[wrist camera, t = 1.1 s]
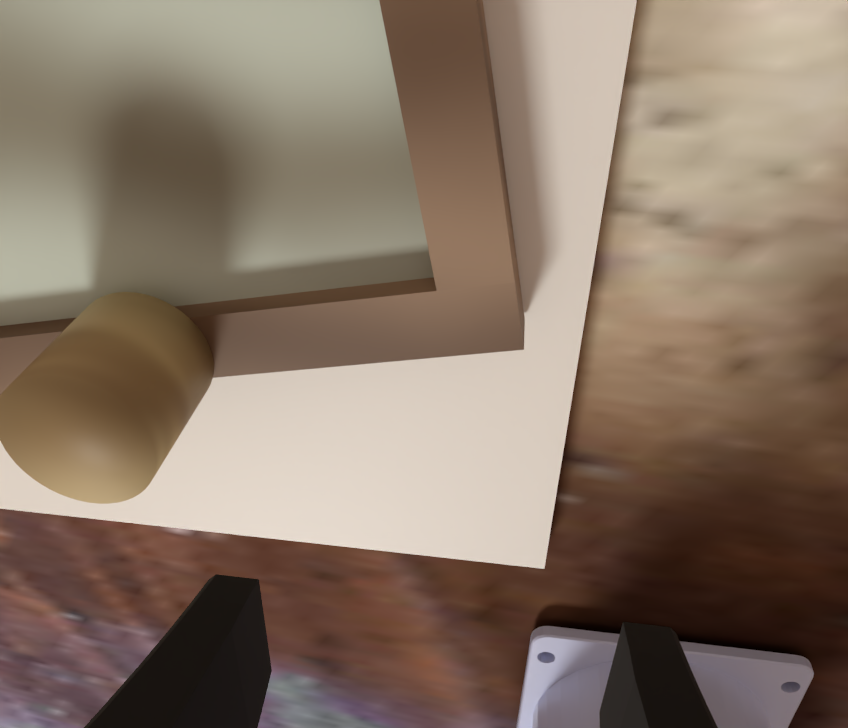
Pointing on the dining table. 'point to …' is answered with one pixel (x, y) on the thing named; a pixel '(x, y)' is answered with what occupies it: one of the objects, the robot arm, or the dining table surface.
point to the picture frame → (234, 211)
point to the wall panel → (432, 377)
